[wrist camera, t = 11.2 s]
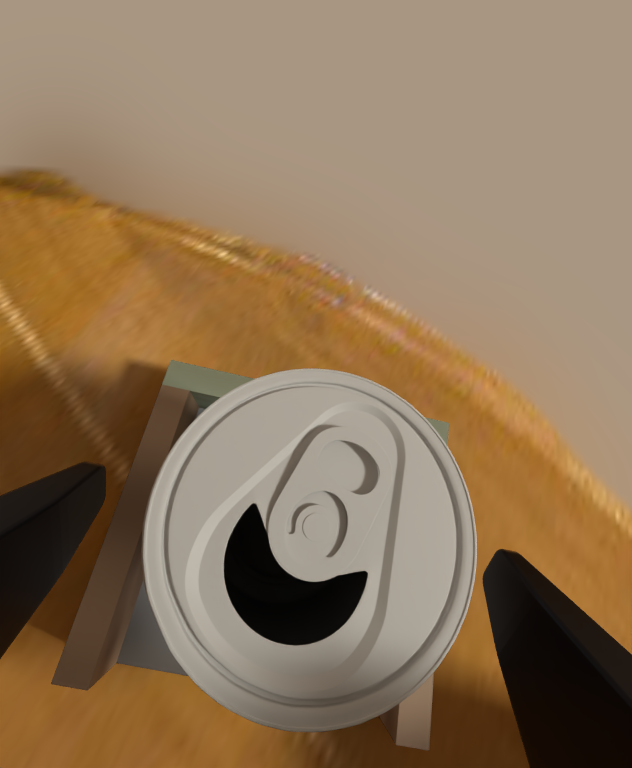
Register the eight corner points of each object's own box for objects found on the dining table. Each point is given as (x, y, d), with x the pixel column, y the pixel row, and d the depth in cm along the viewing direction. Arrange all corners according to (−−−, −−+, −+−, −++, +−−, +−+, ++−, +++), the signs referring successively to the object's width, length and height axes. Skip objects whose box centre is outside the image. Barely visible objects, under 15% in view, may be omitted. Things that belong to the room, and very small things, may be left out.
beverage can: (182, 551, 16) (11, 617, 5) (261, 429, 19) (260, 292, 8) (308, 630, 16) (412, 884, 5) (372, 495, 18) (544, 455, 7)
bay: (399, 710, 16) (428, 750, 13) (90, 654, 15) (50, 684, 12) (423, 436, 20) (449, 422, 17) (184, 383, 19) (171, 359, 17)
